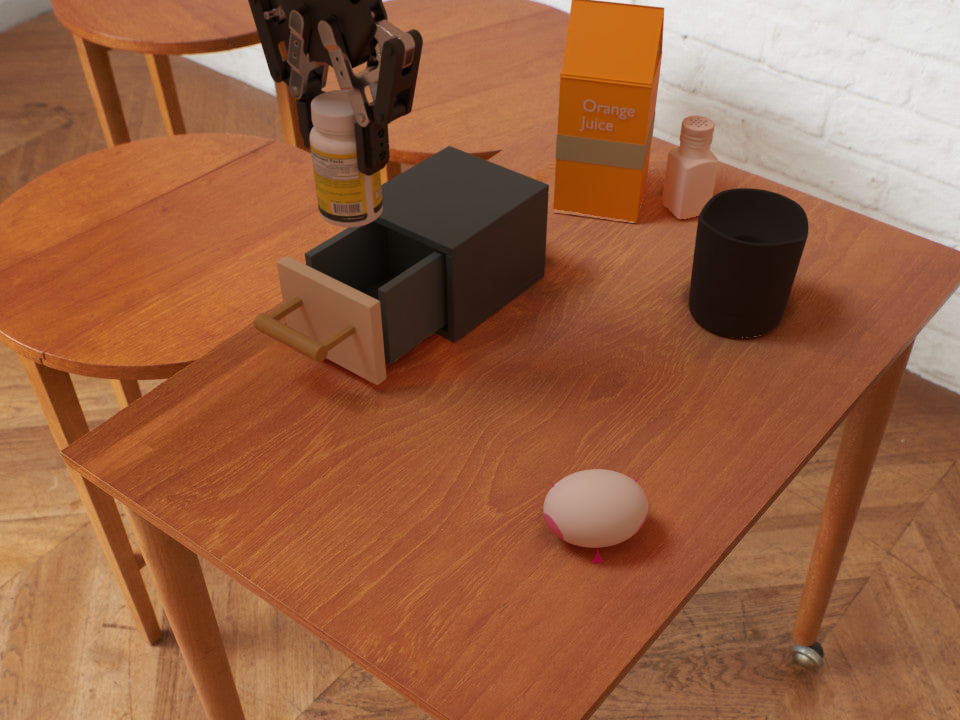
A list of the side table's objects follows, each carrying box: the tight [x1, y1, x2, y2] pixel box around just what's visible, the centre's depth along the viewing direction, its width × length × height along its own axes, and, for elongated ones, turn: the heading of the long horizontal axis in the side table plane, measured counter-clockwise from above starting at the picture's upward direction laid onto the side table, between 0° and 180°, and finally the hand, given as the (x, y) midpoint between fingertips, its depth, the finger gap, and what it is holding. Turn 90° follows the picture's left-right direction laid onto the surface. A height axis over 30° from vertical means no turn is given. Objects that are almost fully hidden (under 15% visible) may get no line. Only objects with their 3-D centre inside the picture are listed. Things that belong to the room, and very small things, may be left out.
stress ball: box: [542, 468, 650, 564], centre depth 76 cm, size 8×8×7 cm
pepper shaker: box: [661, 115, 719, 220], centre depth 106 cm, size 4×4×10 cm
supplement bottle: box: [310, 89, 383, 228], centre depth 75 cm, size 5×5×8 cm
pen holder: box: [688, 187, 809, 339], centre depth 93 cm, size 9×9×10 cm
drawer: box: [253, 222, 448, 386], centre depth 89 cm, size 17×10×8 cm, turn 143°
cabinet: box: [373, 145, 550, 344], centre depth 96 cm, size 14×12×10 cm
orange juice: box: [553, 0, 665, 222], centre depth 103 cm, size 8×9×20 cm
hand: (345, 157), depth 75 cm, fingers closed on supplement bottle, 4 cm apart
